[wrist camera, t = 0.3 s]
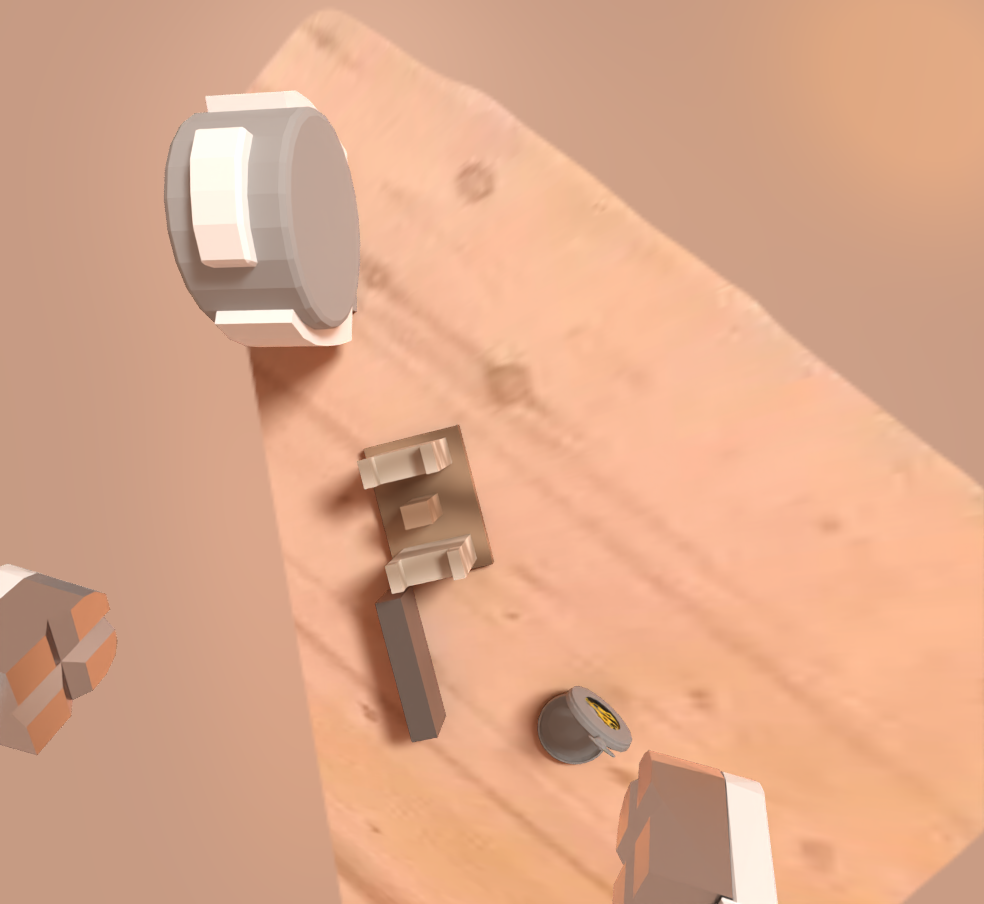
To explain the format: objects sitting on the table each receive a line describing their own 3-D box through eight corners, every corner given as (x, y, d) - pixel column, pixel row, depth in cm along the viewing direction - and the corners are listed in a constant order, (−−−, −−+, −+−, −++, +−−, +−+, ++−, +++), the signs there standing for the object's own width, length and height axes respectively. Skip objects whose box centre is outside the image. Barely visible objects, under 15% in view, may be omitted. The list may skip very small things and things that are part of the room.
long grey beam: (446, 714, 66) (437, 737, 62) (421, 719, 66) (410, 742, 62) (412, 584, 65) (400, 598, 61) (387, 589, 65) (373, 604, 61)
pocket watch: (535, 754, 65) (528, 819, 55) (541, 668, 64) (535, 718, 54) (623, 764, 64) (633, 833, 54) (630, 677, 63) (641, 730, 53)
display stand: (493, 561, 64) (483, 583, 56) (401, 581, 65) (379, 606, 58) (459, 424, 63) (443, 429, 56) (366, 448, 64) (339, 455, 57)
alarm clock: (280, 154, 63) (143, 44, 43) (371, 149, 62) (274, 34, 42) (287, 353, 64) (157, 337, 44) (375, 352, 63) (284, 335, 43)
